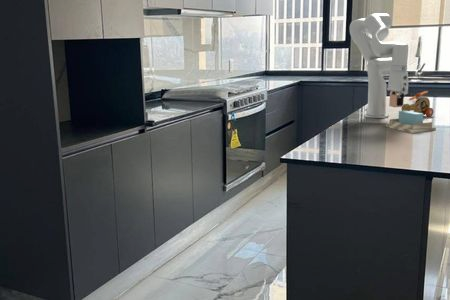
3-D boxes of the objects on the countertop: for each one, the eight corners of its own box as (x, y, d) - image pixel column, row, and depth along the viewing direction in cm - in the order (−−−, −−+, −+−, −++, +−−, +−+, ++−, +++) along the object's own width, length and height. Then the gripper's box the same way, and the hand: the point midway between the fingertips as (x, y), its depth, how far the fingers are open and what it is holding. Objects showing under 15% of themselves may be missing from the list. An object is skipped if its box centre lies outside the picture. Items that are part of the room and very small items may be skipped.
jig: (385, 127, 243) (386, 119, 242) (408, 124, 248) (408, 116, 247) (412, 133, 227) (412, 125, 226) (435, 129, 232) (436, 122, 231)
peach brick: (389, 106, 254) (390, 94, 252) (397, 105, 255) (397, 93, 254) (395, 107, 250) (396, 95, 248) (403, 106, 251) (404, 94, 250)
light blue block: (398, 124, 242) (398, 111, 241) (404, 123, 244) (405, 110, 242) (416, 128, 231) (416, 114, 230) (422, 127, 233) (423, 113, 231)
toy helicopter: (434, 116, 268) (436, 90, 265) (408, 120, 258) (410, 94, 255) (421, 114, 275) (423, 89, 272) (396, 118, 265) (397, 93, 261)
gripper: (417, 70, 241) (413, 106, 246) (393, 66, 256) (390, 101, 261) (404, 71, 238) (401, 108, 243) (381, 67, 253) (379, 102, 258)
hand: (396, 104), depth 252 cm, fingers closed on peach brick, 4 cm apart
